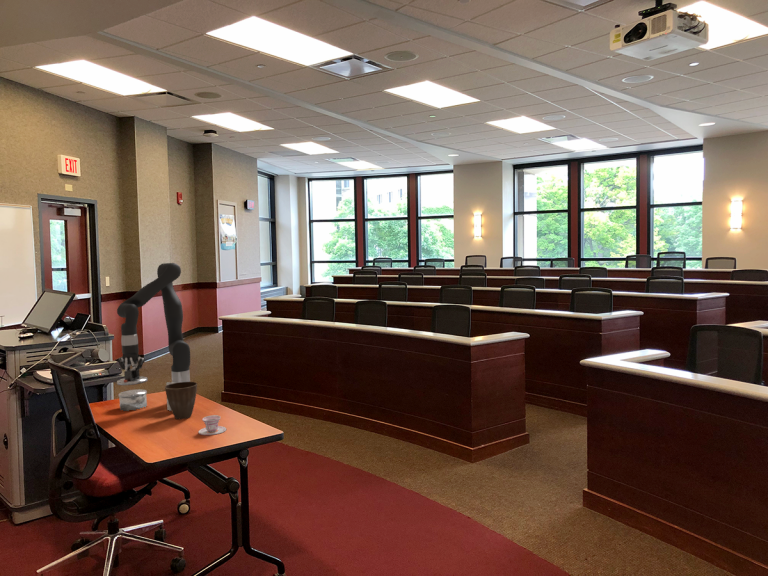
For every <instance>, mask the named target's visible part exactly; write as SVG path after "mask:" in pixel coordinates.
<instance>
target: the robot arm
mask: <svg viewBox="0 0 768 576" xmlns="http://www.w3.org/2000/svg"><path fill="white" fill-rule="evenodd" d="M181 273H182V268H181V266H180V265H179V264H178V263H175V262H163V263H161V264H160V265H158V267H157V271H156V274H157V278H155V279H154V280H152V281H150V282H148V283H147V284H145V285H143V287H141V288H140V289H139V290H138V291H137V292H136V293H134V295H132V296H131V297H129V298H127V299H126V300H124V301H123V302H121V303H120V304H119V305H118V306H117V310H116V313H117V316H119V317H120V318H125V319H124V323H123V322H122V323H121V326H120V328H121V329H120V331H121V353H122V356H121V357H118V359H116V360H117V363H118V364H119V366H120V368H121V370H123V371H127V370H129V369H131V367H132V368H133V370H134V371H133V373H134V378H137V377H138V370H139V371H140V370H141V369H142V367H143V365H144V361H145V360H146V359H145V357H141V356H140V354H139V352H140V351H139V337H138V328H137V327H138V326H137V325H138V320H139V316H140V315H139V314H140V313H139V308H141V307H142V308H143V306H145V305H146V304H147V303H148V302H149V301H150V300H151V299H152V298H153V297H154V296H156V294H158V293H159V292H161V299H162V303H163V310H164V311H163V312H164V317H165V324H166V325H165V326H166V328H167V329H166V330H167V339H168V343H167V345H168V352H169V354H170V356H172V364H171V367H170V368H171V370H170V371H171V372H170V373H171V382H174V383H179V382H191V375H190V366H191V348H190V345H189V343H187V342H186V341H184V337H183V331H182V330H183V329H182V328H183V321H184V311H183V306H182V305H183V304H182V301H181V299H180V298H179V296H178V295H177V293H176V291H175V288H174V283H173V282H174V281H175V280H177V279H179V278H180V276H181Z"/></svg>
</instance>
